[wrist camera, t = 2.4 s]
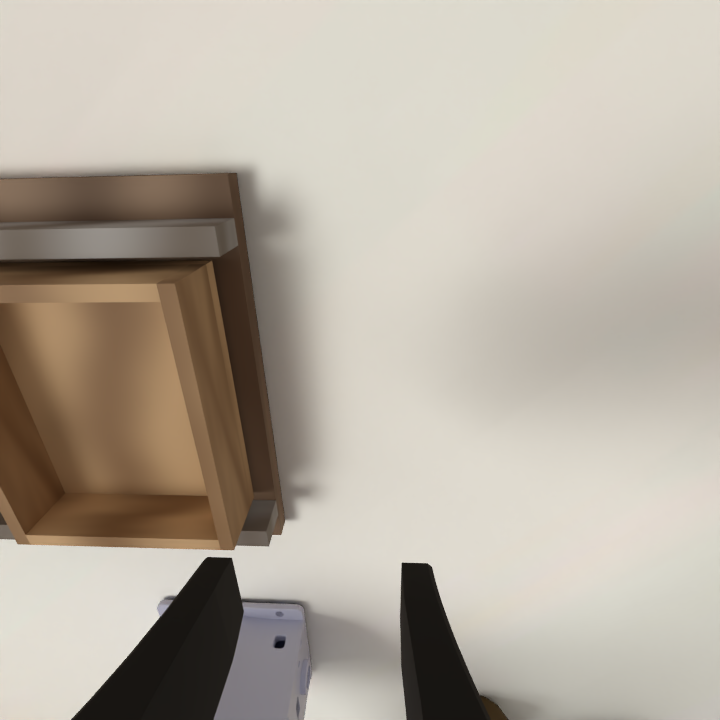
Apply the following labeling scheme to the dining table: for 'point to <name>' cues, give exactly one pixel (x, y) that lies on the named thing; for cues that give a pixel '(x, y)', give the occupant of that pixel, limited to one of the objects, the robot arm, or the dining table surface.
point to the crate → (118, 407)
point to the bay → (160, 243)
